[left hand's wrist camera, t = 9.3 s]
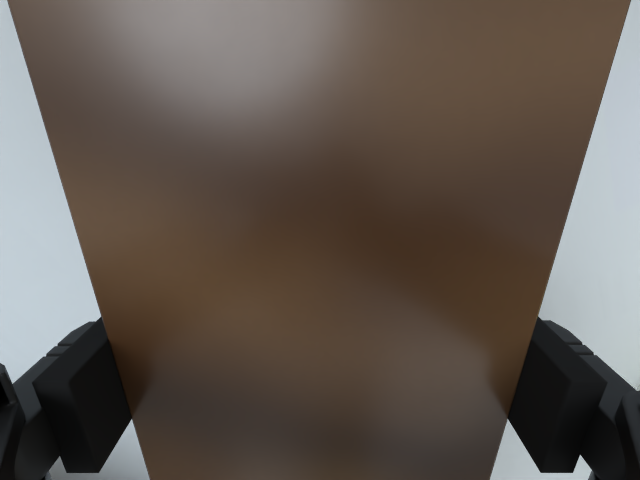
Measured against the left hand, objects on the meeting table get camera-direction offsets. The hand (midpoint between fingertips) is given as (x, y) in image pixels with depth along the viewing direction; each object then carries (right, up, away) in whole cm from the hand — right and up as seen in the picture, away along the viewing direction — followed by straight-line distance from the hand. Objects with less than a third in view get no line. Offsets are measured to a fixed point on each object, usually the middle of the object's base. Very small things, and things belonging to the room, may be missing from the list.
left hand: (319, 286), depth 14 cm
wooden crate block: (0, +7, +1) cm, 7 cm away
